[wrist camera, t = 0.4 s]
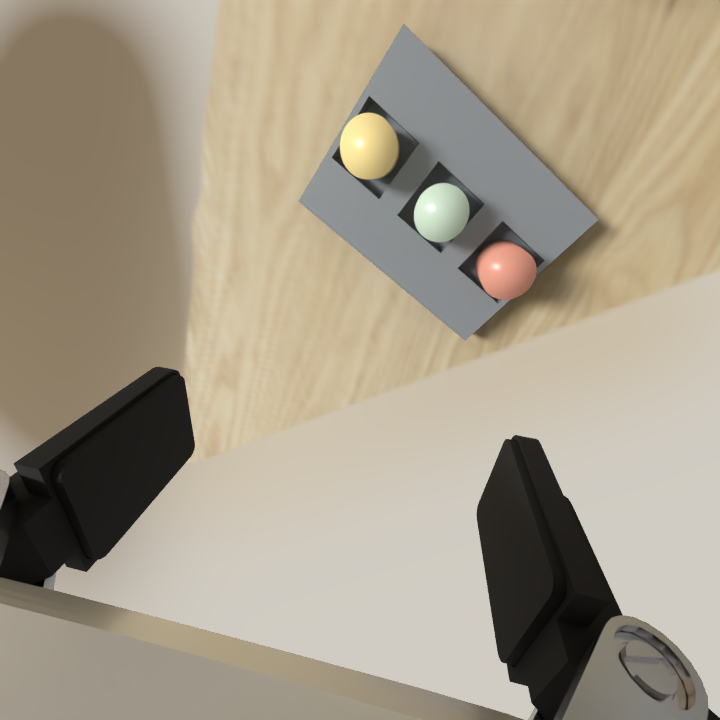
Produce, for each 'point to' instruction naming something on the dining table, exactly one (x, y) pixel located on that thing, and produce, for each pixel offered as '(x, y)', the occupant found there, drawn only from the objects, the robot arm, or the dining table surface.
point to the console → (443, 165)
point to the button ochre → (369, 146)
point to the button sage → (441, 212)
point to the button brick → (505, 269)
